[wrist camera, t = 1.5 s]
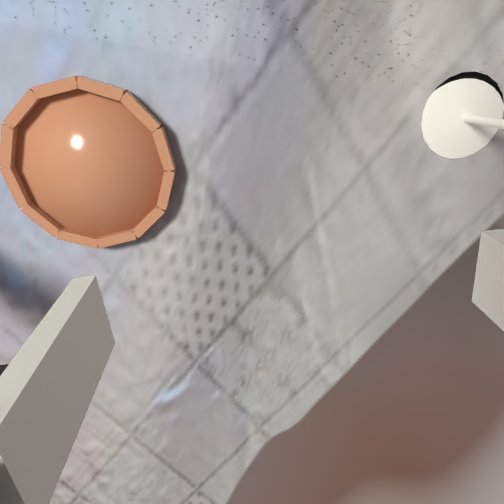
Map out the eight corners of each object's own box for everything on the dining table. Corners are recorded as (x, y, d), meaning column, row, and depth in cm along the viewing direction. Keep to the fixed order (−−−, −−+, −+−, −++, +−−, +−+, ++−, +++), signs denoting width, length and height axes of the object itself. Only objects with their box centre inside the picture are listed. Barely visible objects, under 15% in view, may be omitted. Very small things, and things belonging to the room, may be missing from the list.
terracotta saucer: (-26, 163, 40) (-35, 167, 39) (77, 38, 36) (71, 37, 35) (105, 268, 45) (101, 274, 44) (206, 168, 41) (206, 171, 40)
